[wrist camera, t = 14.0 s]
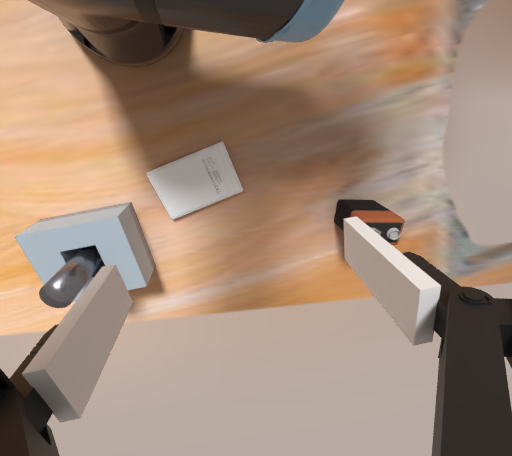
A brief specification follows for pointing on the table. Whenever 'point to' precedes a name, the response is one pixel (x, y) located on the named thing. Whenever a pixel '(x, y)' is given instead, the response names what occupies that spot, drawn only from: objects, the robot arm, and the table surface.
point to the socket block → (90, 243)
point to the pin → (71, 278)
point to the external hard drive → (195, 180)
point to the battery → (371, 218)
